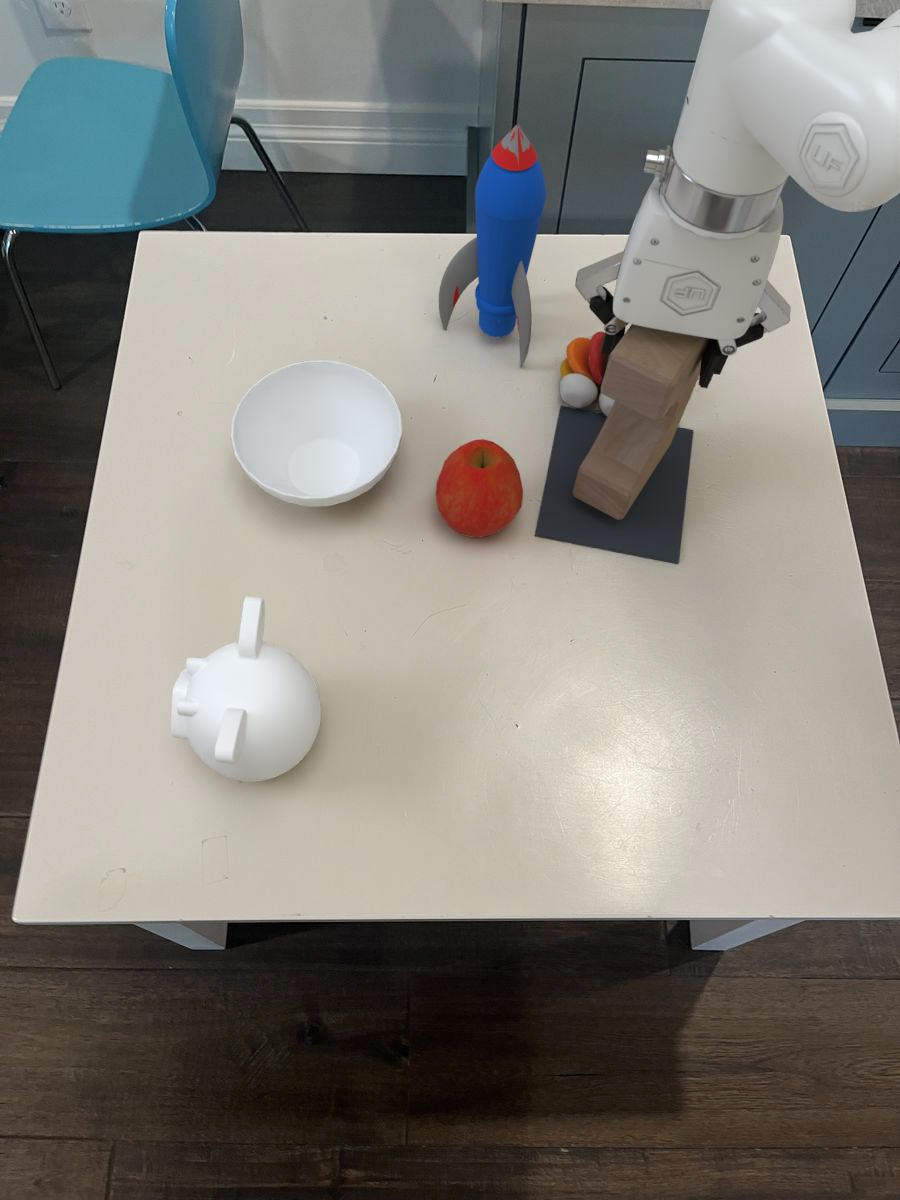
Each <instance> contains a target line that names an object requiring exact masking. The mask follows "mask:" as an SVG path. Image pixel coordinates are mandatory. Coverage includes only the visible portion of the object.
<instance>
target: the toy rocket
mask: <svg viewBox="0 0 900 1200" xmlns="http://www.w3.org/2000/svg"><path fill="white" fill-rule="evenodd" d="M491 152H492V153H491V154H490V155H489V157H488V158H487V159H486V161H485V163H484V165H483V167H482V169H481V171H480V173H479V175H478V178H477V181H476V185H475V190H474V204H475V205H474V207H475V227H476V230H475V231H476V237H474V238H472V239H471V240H470V241H468V242H467V243H466V244H464V245H463V246H462V247H461V248H460V249H458V251H457V253H456V254H455V255H454V256H453V257H452V259H451V260H450V261H449V263H448V265H447V267H446V268H445V271H444V272H443V276H442V278H441V281H440V285H439V291H438V313H439V319H440V322H441V326H442V329H443V330H444V331H447V330H448V327H449V325H450V324H449V323H450V320H451V316H452V315H453V312H454V309H455V307H456V305H457V303H458V300H459V299H460V298H461V296H462V294H463V293H464V291H465V290H466V289H467V288H468V286H469V285H470V284H471V283H473V282H474V281H475V280H477V279H478V283H477V285H476V287H475V289H474V290H475V291H474V297H475V303H476V304H475V305H476V308H477V310H478V326H479V329H480V330H481V331H482V332H483V334H485V335H487V336H489V337H492V338H504V337H507V336H509V335H510V334H511V333H513V332H514V330H515V328H516V325H517V333H518V341H519V342H518V345H519V346H518V347H519V368H520V369H523V367H524V365H525V362H526V359H527V356H528V353H529V349H530V345H531V344H530V343H531V336H532V301H531V300H532V299H531V293H530V292H531V291H530V289H529V288H530V286H529V281H528V278H527V276H528V272H529V267H530V263H531V259H532V256H533V252H534V247H535V244H536V240H537V236H538V233H539V227H540V224H541V220H542V216H543V212H544V208H545V204H546V200H547V199H546V198H547V189H546V180H545V176H544V171H543V168H542V165H541V163H540V161H539V159H538V153H537V151H536V150H535V148H534V146H533V145H532V143H531V142H530V140H529V139H528V137H527V135H526V133H525V132H524V130H523V129H522V127H521V125H520V124H518V123H517V124H515V126H513V128H512V129H510V131H508V133H507V134H506V135H504V137H503V138H502V139H501V140H500V141H499V142H498V143H497V144H496V145H495V147H494V148H493V149H492V151H491Z"/></svg>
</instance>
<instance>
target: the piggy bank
mask: <svg viewBox="0 0 900 1200" xmlns="http://www.w3.org/2000/svg"><path fill="white" fill-rule="evenodd" d="M265 612H266V606H265V599H264V598H263V597H261V596H252V595H245V597H244V600H243V604H242V612H241V619H240V625H239V626H240V627H239V633H238V641H234V642H231V643H227V644H225V645H223V646H221V647H218V648H217V649H215V650H214V651H212V652H211V653H209V654H208V655H207V656H206V657H205V658H204V657H194V656H189V657H187V659H186V662H185V667H184V668H183V670H182V671H181V673H180V674H179V675H178V677H177V679H176V682H175V683H174V685H173V687H172V693H171V708H170V709H171V713H170V732H171V736H172V738H175V739H182V740H183V739H184V740H188V742H189V743H190V745H191V747H192V749H193V751H194V752H195V754H196V755H197V756H198V758H199V759H200V760H201V761H202V762H203V763H204V764H205V765H206V766H207V767H209V768H210V769H212V770H213V771H214V772H216V773H218V774H219V775H221V776H223V777H226V778H228V779H231V780H235V781H241V782H261V781H267V780H271V779H274V778H276V777H278V776H281V775H283V774H285V773H287V772H288V771H290V770H292V769H293V768H294V767H295V766H296V765H298V764H299V763H300V762H301V761H302V760H303V759H304V758H305V756H306V755H307V754H308V753H309V751H310V750H311V748H312V747H313V746H314V743H315V740H316V739H317V736H318V733H319V731H320V725H321V718H322V706H321V699H320V694H319V691H318V688H317V686H316V685H317V684H316V683H315V681H314V678H313V677H312V675H311V673H310V672H309V670H308V669H307V668H306V667H305V666H304V664H303V663H302V662H301V661H300V660H299V659H298V658H297V657H296V656H295V655H294V654H292V653H291V652H290V651H289V650H286V649H284V648H283V647H281V646H279V645H276V644H274V643H271V642H268V641H264V633H265V618H266V613H265Z"/></svg>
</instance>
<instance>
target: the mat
mask: <svg viewBox="0 0 900 1200" xmlns="http://www.w3.org/2000/svg"><path fill="white" fill-rule="evenodd" d="M558 412H559V413H558V415H557V421H556V427H555V431H554V437H553V442H552V447H551V452H550V456H549V462H548V467H547V471H546V472H547V473H546V478H545V482H544V487H543V493H542V498H541V503H540V507H539V512H538V513H539V514H538V519H537V522H536V523H537V524H536V529H535V534H534V537H536V538H543V539H547V540H553V541H557V542H563V543H567V544H573V545H577V546H578V545H579V546H584V547H587V548H594V549H599V550H605V551H608V552H613V553H619V554H624V555H629V556H634V557H639V558H643V559H649V560H654V561H659V562H664V563H670V564H674V565H675V564H676V565H679V563H680V557H681V556H680V555H681V547H682V538H683V528H684V520H685V519H684V518H685V512H686V501H687V493H688V484H689V474H690V467H691V466H690V465H691V458H692V447H693V439H694V429H690V428H687V427H680V426H678V428H677V430H676V432H675V435H674V437H673V440H672V442H671V444H670V446H669V448H668V449H667V451H666V452H665V454H664V456H663V457H662V459H661V460H660V462H659V463H658V465H657V466H656V468H655V470H654V471H653V473H652V474H651V476H650V477H649V479H648V481H647V482H646V484H645V485H644V487H643V488H642V490H641V492H640V493H639V495H638V496H637V498H636V499H635V501H634V502H633V504H632V506H631V507H630V509H629V510H628V512H627V513H626V515H625V517H624V518H623V519H620V520H617V519H615V518H613V517H612V516H610V515H608V514H606V513H604V512H602V511H600V510H598V509H596V508H595V507H593V506H591V505H589V504H587V503H585V502H583V501H581V500H579V499H578V498H576V497H574V495H573V489H574V485H575V481H576V478H577V474H578V470H579V467H580V466H581V464H582V462H583V461H584V459H585V458H586V456H587V454H588V453H589V451H590V450H591V448H592V446H593V444H594V442H595V440H596V439H597V437H598V435H599V433H600V431H601V429H602V427H603V425H604V423H605V421H606V419H607V416H606V415H605V414H604V413H603V412H599V411H593V410H589V409H583V408H576V407H572V406H567V405H562V404H561V405H560V406H559V411H558Z"/></svg>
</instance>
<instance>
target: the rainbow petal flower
mask: <svg viewBox="0 0 900 1200" xmlns="http://www.w3.org/2000/svg"><path fill="white" fill-rule="evenodd" d="M604 335H605V331H597V332H595V333H594V334H592V335H591V336H587V337H584V336H580V337H576V338H574V339H572V340H571V341H570V342H569V343H568V345H567V346H566V357H565V358H564V359H563V360H562V362H561V364H560V368H559V370H560V372H559V373H560V376H561V380H560V382H559V393H560V397H561V399H562V400H563V402H564V403H565V404H566V405H568V406H569V407H573V408H578V409H583V408H585V407H588V406H590V405H591V404H592V403H593V402H595V400H596V399H597V398H598V405H599V408H600V411H601V413H604V414H605V415H606V416H607V417H608V415H609V413H610V410H611V408H612V406H613V404H614V401H615V400H613V399H611V398H609V397H607V396H605V395H603V394H602V392H601V391H600V394H599V395H598V392H599V391H598V387H599V385H601V386H602V382H603V379H604V375H605V372H606V367H607V361H608V355H606V354H601V349H602V344H603V339H604Z"/></svg>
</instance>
